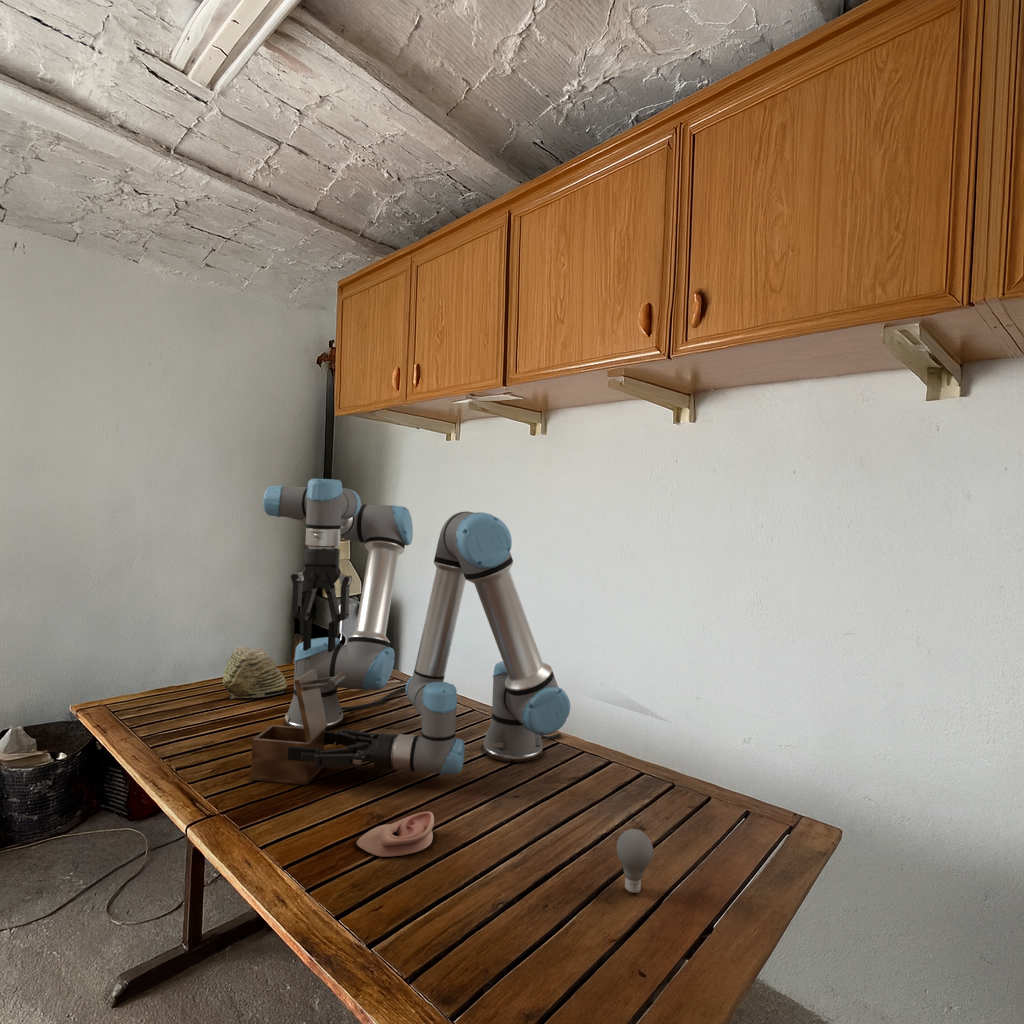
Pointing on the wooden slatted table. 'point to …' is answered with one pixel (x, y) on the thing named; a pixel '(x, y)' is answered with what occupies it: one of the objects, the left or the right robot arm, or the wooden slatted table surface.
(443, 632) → the right robot arm
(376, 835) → the anatomical model
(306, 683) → the lid
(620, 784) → the wooden slatted table surface
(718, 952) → the wooden slatted table surface
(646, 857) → the light bulb
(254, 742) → the chest
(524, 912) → the wooden slatted table surface
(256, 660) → the fossil
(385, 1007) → the wooden slatted table surface
